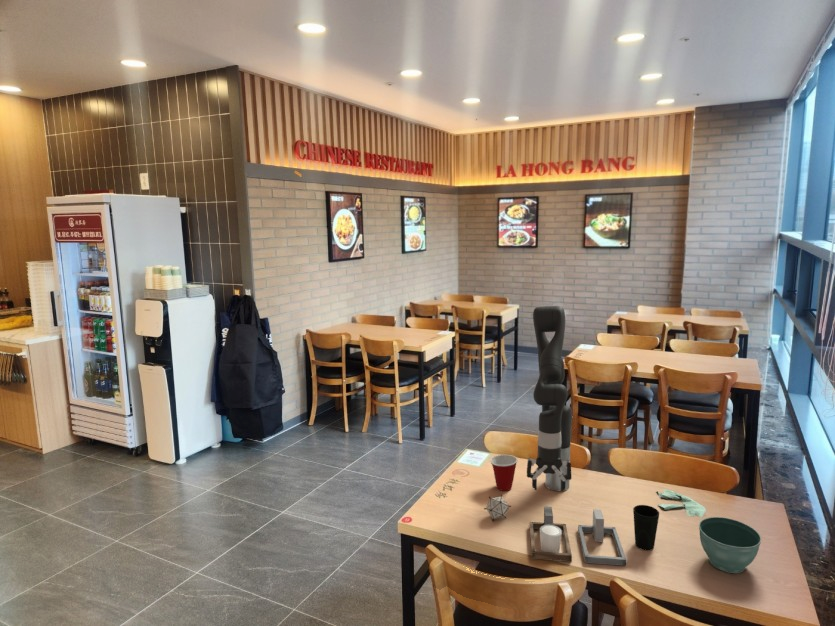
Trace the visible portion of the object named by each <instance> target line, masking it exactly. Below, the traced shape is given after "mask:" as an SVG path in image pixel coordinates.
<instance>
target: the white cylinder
mask: <svg viewBox="0 0 835 626" xmlns="http://www.w3.org/2000/svg"><path fill="white" fill-rule="evenodd" d="M562 533H563V531H562V530H561V529H560V528H559V527H557V526H554V525H544V526H541V528H540V529H539V539H540V548H541V549H540V552H554V553H560V549H561V543H562V542H561V541H562Z"/></svg>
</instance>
